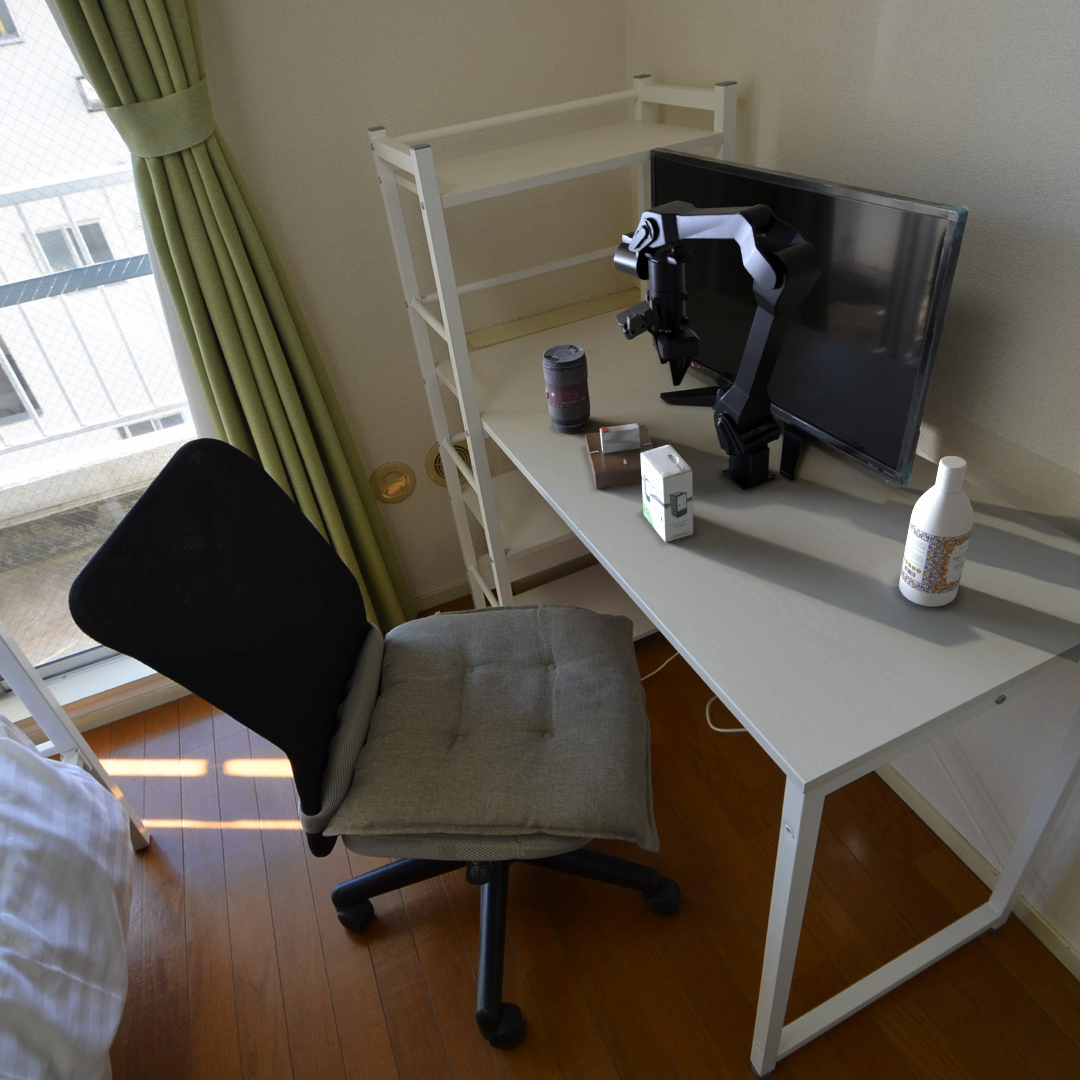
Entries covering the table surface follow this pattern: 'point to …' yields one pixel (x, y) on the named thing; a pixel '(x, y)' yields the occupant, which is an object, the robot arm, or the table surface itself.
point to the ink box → (667, 492)
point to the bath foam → (938, 538)
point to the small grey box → (620, 438)
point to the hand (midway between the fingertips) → (670, 374)
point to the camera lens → (567, 387)
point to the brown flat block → (616, 461)
